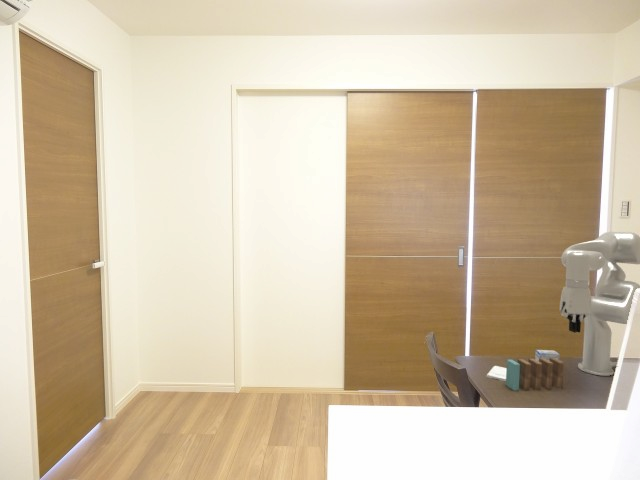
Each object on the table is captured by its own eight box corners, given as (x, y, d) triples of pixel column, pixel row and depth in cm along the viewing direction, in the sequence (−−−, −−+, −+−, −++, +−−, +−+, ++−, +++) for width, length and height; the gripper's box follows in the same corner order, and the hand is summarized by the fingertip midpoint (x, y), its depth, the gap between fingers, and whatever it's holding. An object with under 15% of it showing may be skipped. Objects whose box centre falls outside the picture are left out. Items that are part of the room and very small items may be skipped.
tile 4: (521, 384, 157) (522, 359, 156) (529, 389, 152) (530, 363, 151) (516, 384, 157) (517, 359, 156) (524, 390, 152) (525, 364, 151)
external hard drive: (514, 373, 169) (508, 383, 159) (493, 369, 174) (486, 378, 164) (514, 369, 169) (508, 379, 159) (494, 365, 174) (486, 374, 164)
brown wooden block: (531, 383, 158) (533, 358, 157) (540, 389, 153) (541, 363, 152) (527, 383, 157) (528, 358, 157) (535, 389, 152) (536, 363, 152)
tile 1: (553, 382, 159) (554, 357, 158) (562, 388, 154) (563, 362, 153) (548, 382, 159) (549, 358, 158) (557, 388, 154) (558, 362, 153)
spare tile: (513, 390, 151) (514, 364, 151) (505, 384, 156) (506, 359, 156) (518, 390, 152) (519, 364, 151) (510, 384, 156) (511, 359, 156)
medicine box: (553, 370, 172) (554, 350, 171) (558, 374, 167) (559, 353, 167) (534, 369, 172) (535, 349, 172) (538, 373, 168) (539, 353, 167)
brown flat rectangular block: (542, 383, 158) (543, 358, 158) (551, 388, 153) (552, 362, 153) (537, 383, 158) (539, 358, 157) (546, 388, 153) (547, 363, 152)
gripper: (587, 282, 159) (584, 328, 160) (551, 282, 157) (549, 329, 158) (603, 285, 152) (600, 333, 153) (566, 286, 150) (563, 335, 151)
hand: (574, 331), depth 156 cm, fingers closed
